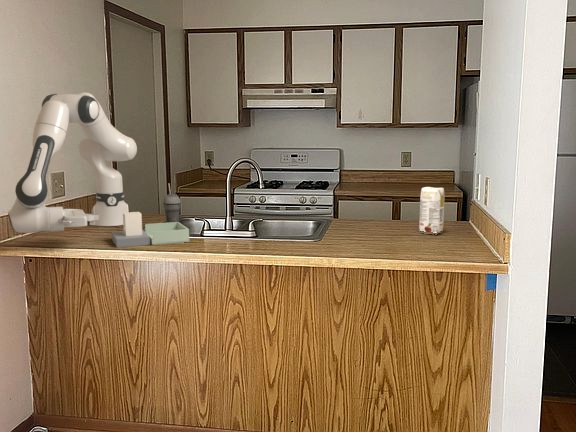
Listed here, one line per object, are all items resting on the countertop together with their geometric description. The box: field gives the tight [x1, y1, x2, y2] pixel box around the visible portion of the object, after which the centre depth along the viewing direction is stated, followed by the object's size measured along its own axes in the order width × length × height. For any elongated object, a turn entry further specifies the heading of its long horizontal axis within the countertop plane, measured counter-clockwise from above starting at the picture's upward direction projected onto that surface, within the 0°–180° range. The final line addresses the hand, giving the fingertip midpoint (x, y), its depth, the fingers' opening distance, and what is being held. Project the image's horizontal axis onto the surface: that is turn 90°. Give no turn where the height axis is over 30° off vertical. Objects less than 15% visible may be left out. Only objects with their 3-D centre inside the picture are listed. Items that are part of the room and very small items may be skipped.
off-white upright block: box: [122, 211, 143, 236], centre depth 224 cm, size 6×6×8 cm
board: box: [111, 229, 151, 248], centre depth 224 cm, size 16×12×3 cm
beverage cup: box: [162, 183, 182, 223], centre depth 247 cm, size 7×7×20 cm
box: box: [144, 221, 190, 246], centre depth 229 cm, size 18×14×5 cm
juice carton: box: [418, 186, 445, 233], centre depth 240 cm, size 8×9×19 cm
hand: (98, 216), depth 218 cm, fingers closed
